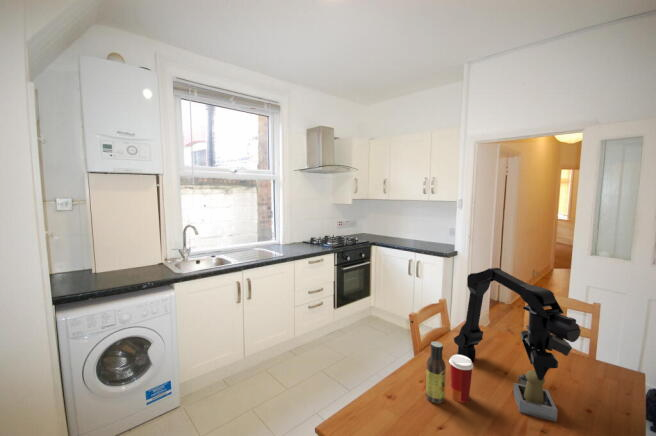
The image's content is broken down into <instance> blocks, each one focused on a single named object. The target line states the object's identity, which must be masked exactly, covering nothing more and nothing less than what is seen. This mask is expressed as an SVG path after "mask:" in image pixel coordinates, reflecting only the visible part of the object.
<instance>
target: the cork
mask: <svg viewBox="0 0 656 436" xmlns="http://www.w3.org/2000/svg"><path fill="white" fill-rule="evenodd" d="M525 375H526V379H527V384H526V388H525V392H524V396H523V400H525V401H529V402H534V403H538V404H542V405H544V397H543V389H544V388H543V385H544V384H545V382H546V381H545V377H544V378H543V380H542V381H541V380H538V378H537V375H536V372H535V369H534V370H533V369H529V370H527V371H526V373H525Z"/></svg>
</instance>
